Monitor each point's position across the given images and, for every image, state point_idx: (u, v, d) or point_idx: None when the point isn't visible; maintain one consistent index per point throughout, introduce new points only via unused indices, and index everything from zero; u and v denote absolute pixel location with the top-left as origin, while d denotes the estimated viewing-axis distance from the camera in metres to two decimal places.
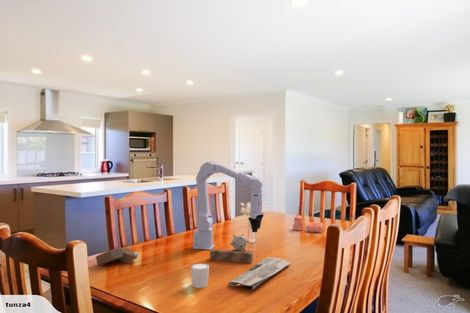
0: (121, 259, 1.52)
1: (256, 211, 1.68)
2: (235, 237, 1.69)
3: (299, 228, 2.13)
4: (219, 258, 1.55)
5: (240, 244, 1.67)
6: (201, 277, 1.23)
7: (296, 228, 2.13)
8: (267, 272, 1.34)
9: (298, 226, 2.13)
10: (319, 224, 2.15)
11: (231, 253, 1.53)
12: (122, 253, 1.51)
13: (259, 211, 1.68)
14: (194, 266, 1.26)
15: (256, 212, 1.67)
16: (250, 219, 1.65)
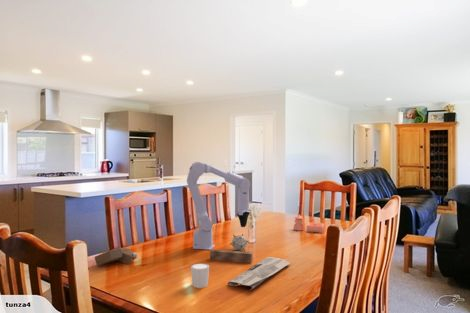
0: (120, 259, 1.52)
1: (243, 208, 1.77)
2: (235, 237, 1.69)
3: (300, 228, 2.12)
4: (219, 258, 1.55)
5: (240, 244, 1.67)
6: (201, 277, 1.23)
7: (297, 228, 2.13)
8: (266, 272, 1.34)
9: (299, 226, 2.13)
10: (320, 224, 2.15)
11: (231, 253, 1.53)
12: (121, 253, 1.51)
13: (246, 208, 1.77)
14: (194, 266, 1.26)
15: (243, 209, 1.77)
16: (238, 215, 1.77)
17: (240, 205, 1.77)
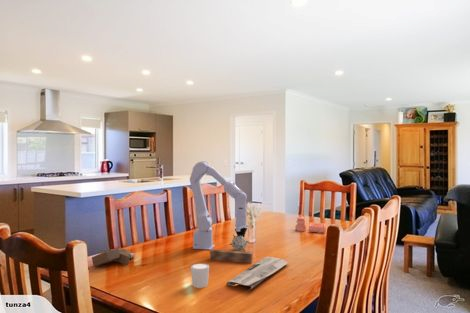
0: (117, 260, 1.51)
1: (240, 223, 1.71)
2: (235, 237, 1.69)
3: (302, 229, 2.11)
4: (219, 258, 1.55)
5: (240, 244, 1.66)
6: (201, 277, 1.23)
7: (299, 229, 2.11)
8: (265, 272, 1.34)
9: (301, 227, 2.11)
10: (322, 224, 2.15)
11: (231, 253, 1.53)
12: (118, 254, 1.50)
13: (244, 224, 1.72)
14: (194, 266, 1.26)
15: (241, 225, 1.71)
16: (236, 230, 1.72)
17: (237, 221, 1.72)
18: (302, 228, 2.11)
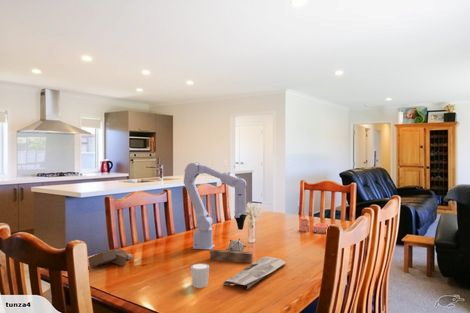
0: (114, 261, 1.49)
1: (240, 210, 1.70)
2: (232, 242, 1.60)
3: (306, 229, 2.10)
4: (219, 258, 1.55)
5: (238, 249, 1.58)
6: (201, 277, 1.23)
7: (303, 229, 2.10)
8: (262, 271, 1.35)
9: (305, 227, 2.10)
10: (325, 225, 2.14)
11: (231, 253, 1.53)
12: (115, 255, 1.49)
13: (243, 210, 1.70)
14: (194, 266, 1.26)
15: (240, 211, 1.70)
16: None
17: (237, 207, 1.70)
18: (306, 228, 2.10)
